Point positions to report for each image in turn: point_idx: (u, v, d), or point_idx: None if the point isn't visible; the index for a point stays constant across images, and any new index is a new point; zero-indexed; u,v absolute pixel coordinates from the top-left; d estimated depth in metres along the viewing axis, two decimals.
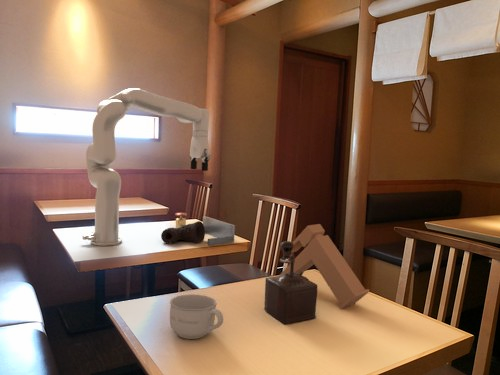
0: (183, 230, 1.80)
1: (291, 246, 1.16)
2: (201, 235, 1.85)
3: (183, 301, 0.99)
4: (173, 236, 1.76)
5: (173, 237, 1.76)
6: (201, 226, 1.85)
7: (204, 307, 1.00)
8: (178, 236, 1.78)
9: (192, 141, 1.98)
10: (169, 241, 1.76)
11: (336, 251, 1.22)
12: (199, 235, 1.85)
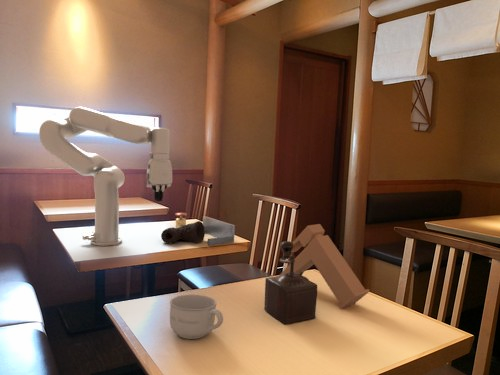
0: (183, 230, 1.80)
1: (291, 246, 1.16)
2: (201, 235, 1.86)
3: (183, 301, 0.99)
4: (173, 236, 1.76)
5: (173, 237, 1.76)
6: (201, 226, 1.86)
7: (204, 307, 1.00)
8: (178, 236, 1.78)
9: (156, 166, 1.67)
10: (169, 241, 1.76)
11: (336, 251, 1.22)
12: (199, 235, 1.85)
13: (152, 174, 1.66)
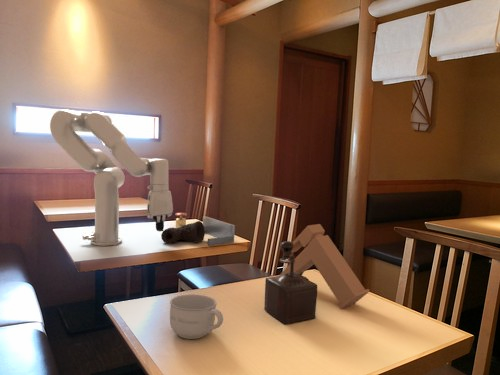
0: (183, 230, 1.80)
1: (291, 246, 1.16)
2: (201, 234, 1.86)
3: (183, 301, 0.99)
4: (173, 236, 1.76)
5: (173, 237, 1.76)
6: (201, 226, 1.86)
7: (204, 307, 1.00)
8: (178, 236, 1.78)
9: (156, 197, 1.68)
10: (169, 241, 1.76)
11: (336, 251, 1.22)
12: (199, 235, 1.85)
13: (152, 205, 1.68)
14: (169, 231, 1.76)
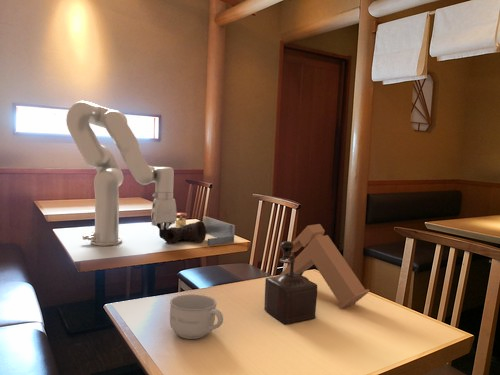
0: (184, 230, 1.81)
1: (291, 246, 1.16)
2: (203, 234, 1.86)
3: (183, 301, 0.99)
4: (175, 236, 1.76)
5: (175, 237, 1.76)
6: (202, 226, 1.86)
7: (204, 307, 1.00)
8: (179, 236, 1.79)
9: (161, 205, 1.70)
10: (171, 241, 1.77)
11: (336, 251, 1.22)
12: (201, 235, 1.86)
13: (157, 213, 1.70)
14: (170, 231, 1.77)
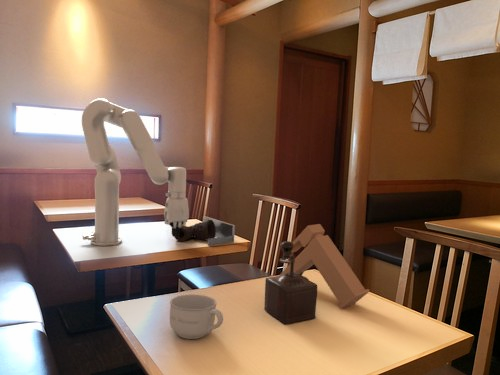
0: (195, 228, 1.85)
1: (291, 246, 1.16)
2: (212, 233, 1.90)
3: (183, 301, 0.99)
4: (185, 234, 1.81)
5: (185, 235, 1.81)
6: (212, 224, 1.90)
7: (204, 307, 1.00)
8: (190, 234, 1.83)
9: (174, 204, 1.74)
10: (181, 239, 1.81)
11: (336, 251, 1.22)
12: (210, 233, 1.90)
13: (170, 212, 1.74)
14: (181, 229, 1.81)
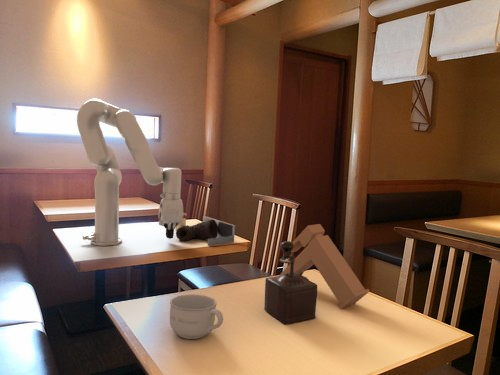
0: (197, 228, 1.86)
1: (291, 246, 1.16)
2: (215, 232, 1.91)
3: (183, 301, 0.99)
4: (187, 234, 1.82)
5: (187, 235, 1.82)
6: (214, 224, 1.91)
7: (204, 307, 1.00)
8: (192, 234, 1.84)
9: (168, 205, 1.73)
10: (184, 238, 1.82)
11: (336, 251, 1.22)
12: (212, 233, 1.91)
13: (164, 213, 1.72)
14: (183, 229, 1.82)
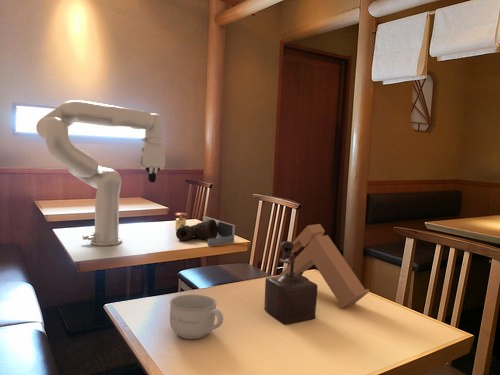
0: (197, 228, 1.86)
1: (291, 246, 1.16)
2: (214, 232, 1.91)
3: (183, 301, 0.99)
4: (188, 234, 1.82)
5: (188, 235, 1.82)
6: (214, 224, 1.91)
7: (204, 307, 1.00)
8: (192, 234, 1.84)
9: (149, 149, 1.80)
10: (184, 238, 1.82)
11: (336, 251, 1.22)
12: (212, 233, 1.91)
13: (145, 156, 1.79)
14: (183, 229, 1.82)
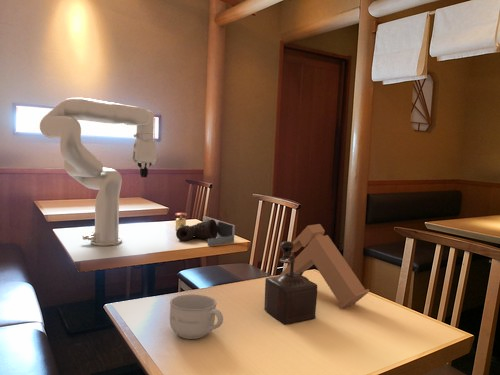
0: (197, 228, 1.86)
1: (291, 246, 1.16)
2: (214, 232, 1.92)
3: (183, 301, 0.99)
4: (188, 234, 1.82)
5: (188, 235, 1.82)
6: (214, 224, 1.91)
7: (204, 307, 1.00)
8: (192, 234, 1.84)
9: (141, 145, 1.84)
10: (184, 239, 1.82)
11: (336, 251, 1.22)
12: (212, 233, 1.91)
13: (137, 152, 1.83)
14: (184, 229, 1.82)
